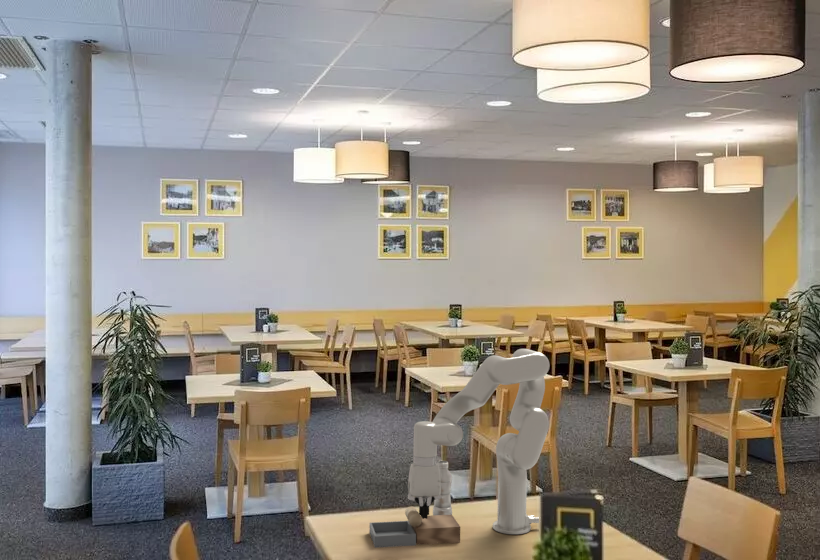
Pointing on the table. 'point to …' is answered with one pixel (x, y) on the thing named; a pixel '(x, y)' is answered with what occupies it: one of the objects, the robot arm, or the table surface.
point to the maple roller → (413, 516)
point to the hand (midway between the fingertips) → (424, 517)
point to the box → (392, 534)
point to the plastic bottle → (444, 491)
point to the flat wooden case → (437, 530)
